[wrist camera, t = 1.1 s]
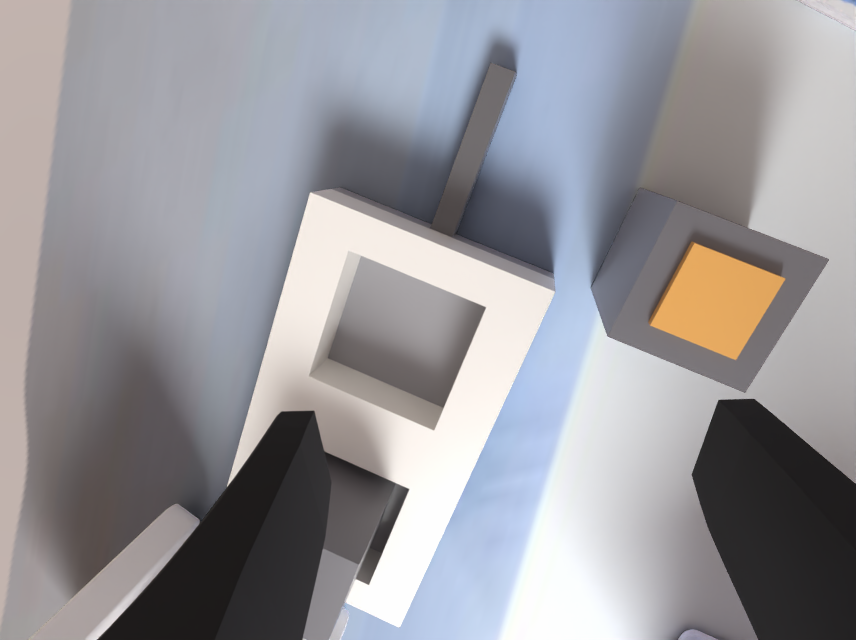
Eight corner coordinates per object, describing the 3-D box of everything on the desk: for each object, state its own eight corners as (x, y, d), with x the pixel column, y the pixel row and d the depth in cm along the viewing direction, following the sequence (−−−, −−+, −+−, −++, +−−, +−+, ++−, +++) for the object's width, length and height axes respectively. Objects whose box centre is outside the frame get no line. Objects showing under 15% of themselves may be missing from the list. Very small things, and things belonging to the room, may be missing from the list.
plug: (747, 229, 20) (834, 261, 14) (690, 328, 21) (748, 397, 15) (639, 187, 20) (679, 201, 14) (590, 288, 21) (608, 339, 15)
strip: (388, 26, 20) (312, -36, 13) (625, 116, 19) (668, 97, 13) (246, 500, 27) (151, 610, 21) (414, 577, 27) (372, 716, 20)
